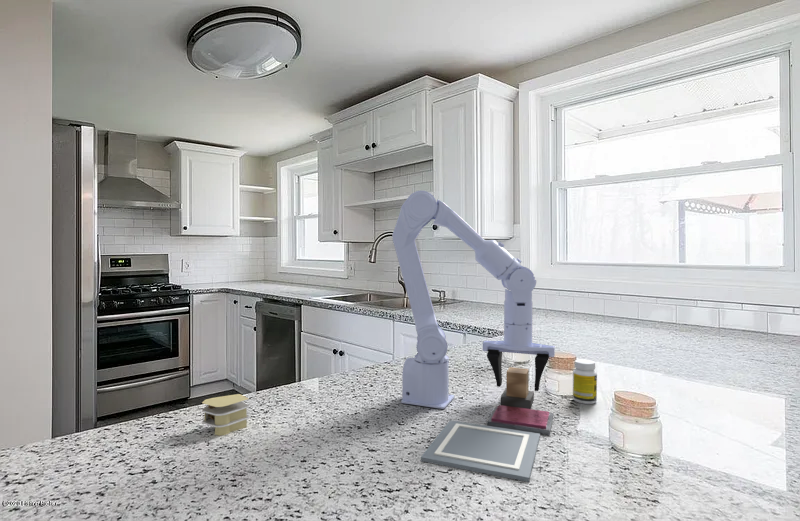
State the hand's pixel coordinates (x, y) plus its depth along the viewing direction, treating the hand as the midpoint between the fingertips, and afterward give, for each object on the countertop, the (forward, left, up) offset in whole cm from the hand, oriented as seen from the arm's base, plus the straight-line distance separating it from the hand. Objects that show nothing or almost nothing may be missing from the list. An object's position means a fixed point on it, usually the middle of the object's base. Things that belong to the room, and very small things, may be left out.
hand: (517, 387), depth 94 cm
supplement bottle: (+13, +7, -3) cm, 15 cm away
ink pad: (+2, -10, -3) cm, 11 cm away
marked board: (-2, -24, -3) cm, 24 cm away
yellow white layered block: (-47, -34, -4) cm, 58 cm away
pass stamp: (0, 0, -3) cm, 3 cm away
